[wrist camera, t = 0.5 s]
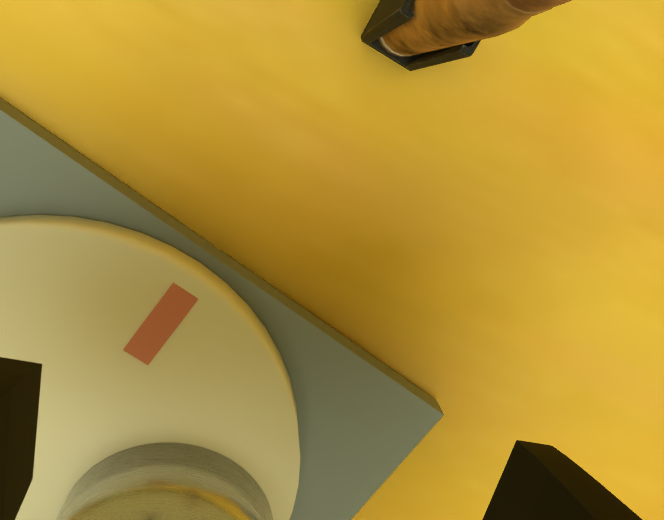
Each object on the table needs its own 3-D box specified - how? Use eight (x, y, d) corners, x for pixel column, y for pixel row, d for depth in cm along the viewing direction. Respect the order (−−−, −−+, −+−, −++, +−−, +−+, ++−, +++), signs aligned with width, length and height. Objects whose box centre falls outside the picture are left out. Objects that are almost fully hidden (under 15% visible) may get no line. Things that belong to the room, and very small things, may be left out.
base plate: (190, 679, 23) (187, 704, 22) (-319, 439, 19) (-351, 458, 18) (435, 399, 21) (443, 414, 20) (-80, 42, 16) (-102, 39, 15)
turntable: (137, 682, 22) (94, 875, 16) (-275, 494, 18) (-501, 664, 13) (387, 390, 19) (431, 505, 14) (-30, 106, 16) (-182, 117, 10)
